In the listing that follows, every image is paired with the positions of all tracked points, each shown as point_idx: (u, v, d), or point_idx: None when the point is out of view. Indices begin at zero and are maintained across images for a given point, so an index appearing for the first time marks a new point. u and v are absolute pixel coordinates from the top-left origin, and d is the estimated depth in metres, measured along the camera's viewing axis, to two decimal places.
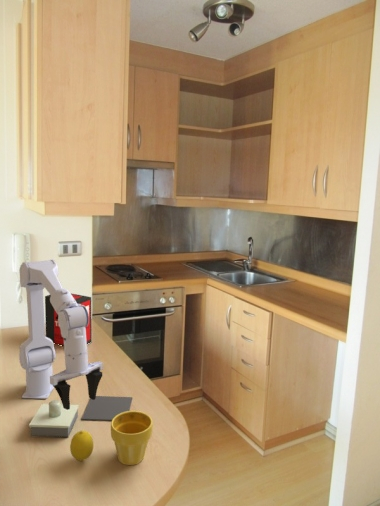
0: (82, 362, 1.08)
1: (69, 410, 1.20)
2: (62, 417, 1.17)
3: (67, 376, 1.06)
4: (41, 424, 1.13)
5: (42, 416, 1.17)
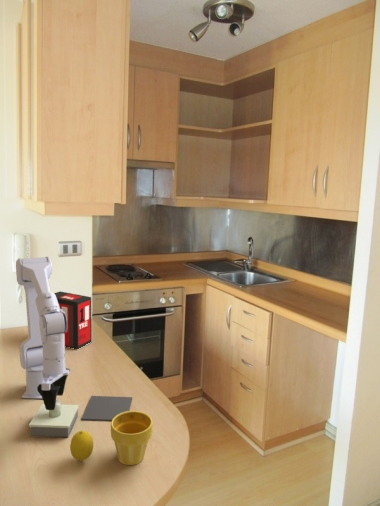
0: (64, 363, 1.15)
1: (69, 410, 1.20)
2: (62, 417, 1.17)
3: (56, 379, 1.12)
4: (41, 424, 1.13)
5: (42, 416, 1.17)
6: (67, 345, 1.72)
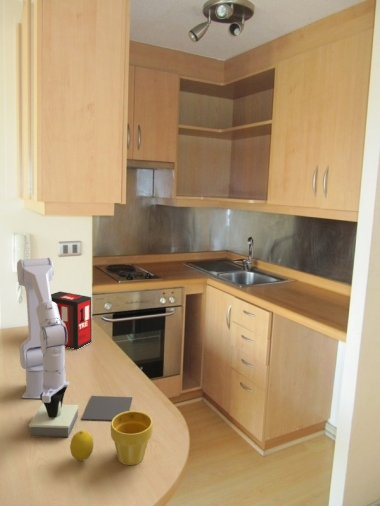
0: (64, 374, 1.16)
1: (69, 410, 1.20)
2: (62, 417, 1.17)
3: (56, 391, 1.12)
4: (41, 424, 1.13)
5: (42, 416, 1.17)
6: (67, 345, 1.72)
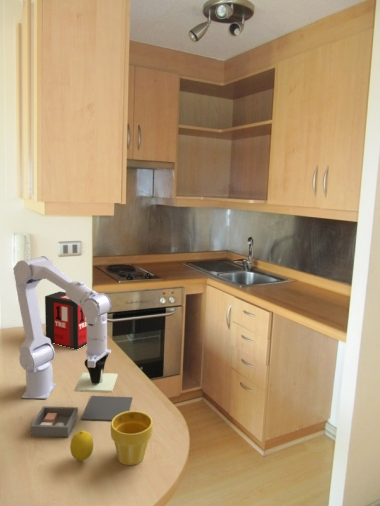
0: (106, 343, 1.22)
1: (109, 378, 1.27)
2: (104, 383, 1.23)
3: (100, 357, 1.19)
4: (86, 389, 1.19)
5: (85, 382, 1.23)
6: (67, 345, 1.72)
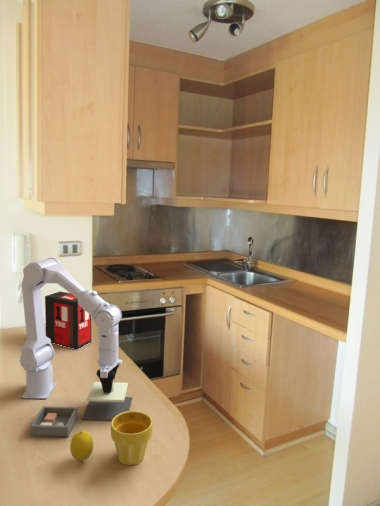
0: None
1: (120, 387, 1.30)
2: (116, 393, 1.26)
3: (112, 367, 1.22)
4: (98, 398, 1.22)
5: (97, 391, 1.26)
6: (67, 345, 1.72)
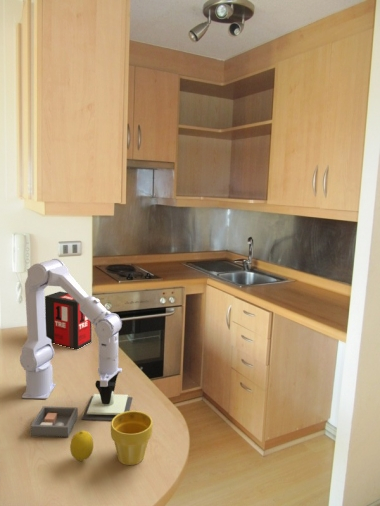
0: (117, 361, 1.26)
1: (120, 399, 1.30)
2: (115, 405, 1.27)
3: (112, 376, 1.22)
4: (98, 411, 1.23)
5: (97, 404, 1.27)
6: (67, 345, 1.72)
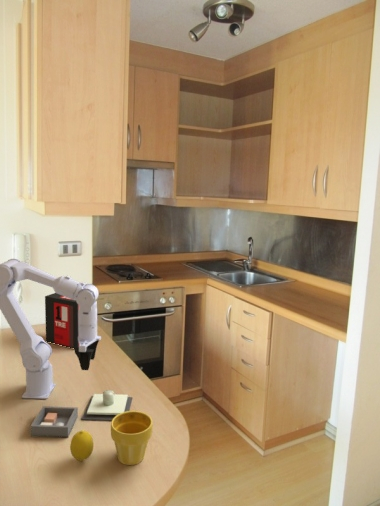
0: (96, 330, 1.32)
1: (120, 399, 1.30)
2: (115, 405, 1.27)
3: (90, 343, 1.29)
4: (98, 411, 1.23)
5: (97, 404, 1.27)
6: (67, 345, 1.72)
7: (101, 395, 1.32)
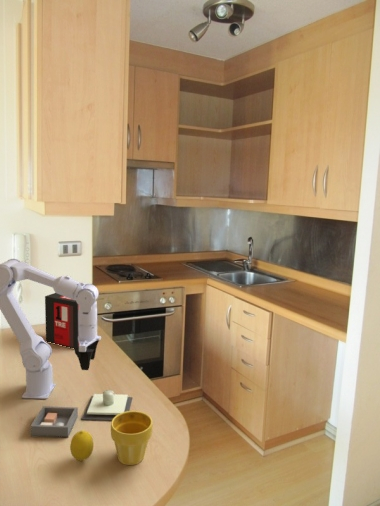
0: (96, 329, 1.32)
1: (120, 399, 1.30)
2: (115, 405, 1.27)
3: (90, 342, 1.29)
4: (98, 411, 1.23)
5: (97, 404, 1.27)
6: (67, 345, 1.72)
7: (101, 395, 1.32)
